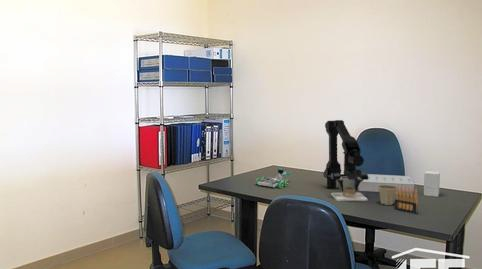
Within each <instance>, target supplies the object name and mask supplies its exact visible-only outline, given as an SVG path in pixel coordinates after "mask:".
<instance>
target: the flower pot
mask: <svg viewBox="0 0 482 269" xmlns="http://www.w3.org/2000/svg"><path fill="white" fill-rule="evenodd" d="M378 188H379V192H378V193H379V200H380V204H381V205H386V206H392V205H395V198H396V193H395V192H396V188H397V187H396V186H392V185H379V186H378Z"/></svg>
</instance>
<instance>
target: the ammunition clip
mask: <svg viewBox="0 0 482 269" xmlns="http://www.w3.org/2000/svg"><path fill="white" fill-rule="evenodd" d="M418 198H419V197H418V188H417V187H416V188H414V191H413V187H412V189H411V194H410V188H409V187H408V189H407V193H406V187H404V192H403V189H402V186H401V187H400V193H399V186H398V185H397V188H396V193H395V198H394V206H393V210H395V211H399V212H405V213H409V214H414V215H418V214H419V203H418Z"/></svg>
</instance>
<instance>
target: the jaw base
mask: <svg viewBox="0 0 482 269" xmlns="http://www.w3.org/2000/svg"><path fill="white" fill-rule="evenodd" d="M330 194H331V197H333V198H334V200H335V201H337V202H339V201H343V202H344V201H349V202H350V201H353V202H354V201H357V202H359V201H367V202H368V198H367V197H366V196H365V195H364V194H363V193H361V192H355V197H345V196H344V195H343V192H331V193H330Z"/></svg>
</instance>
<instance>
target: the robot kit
mask: <svg viewBox="0 0 482 269" xmlns="http://www.w3.org/2000/svg"><path fill="white" fill-rule="evenodd" d="M277 173H278V174H277V175H275V178H274V177H270V176H268V177H267V176H262V177H261V178H260V177H257V178H256V179H255V185H256V184H258V185H257V186H263V187H272V188H275V187H277V188H278V189H280V188H281V189H283V188H284V187H286V188H287V187H289V185H290V181H289V179H284V178H283V177H285V176H291V175H292V172H291V171H290V172H288V173H287V171H284V168H278V169H277Z"/></svg>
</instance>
